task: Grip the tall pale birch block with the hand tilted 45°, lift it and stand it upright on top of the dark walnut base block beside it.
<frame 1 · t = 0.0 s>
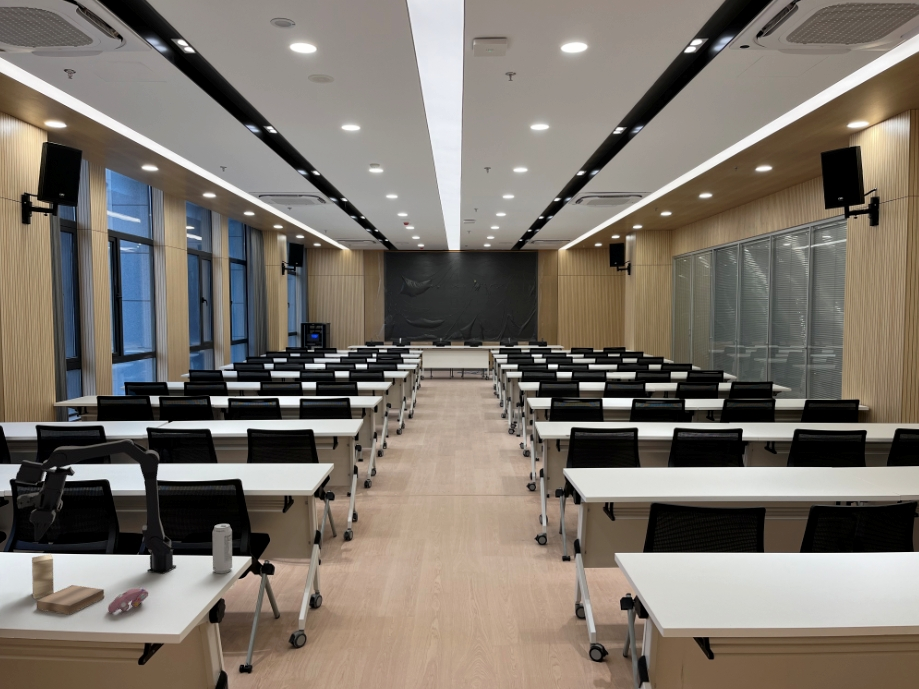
hand: (39, 536, 207), 15 cm above the table, tool pointing down, fingers open, 9 cm apart
energy drink can: (222, 571, 220), on the table
walnut base block: (71, 603, 194), on the table
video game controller: (128, 609, 191), on the table
birch block: (43, 594, 201), on the table
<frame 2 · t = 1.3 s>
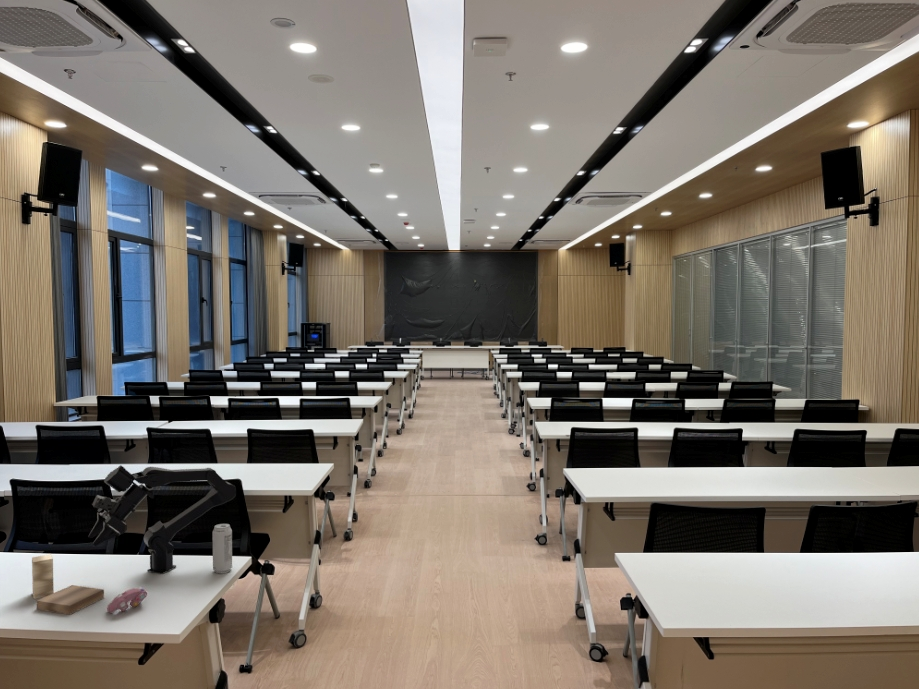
hand: (91, 541, 208), 13 cm above the table, tool tilted 45°, fingers open, 9 cm apart
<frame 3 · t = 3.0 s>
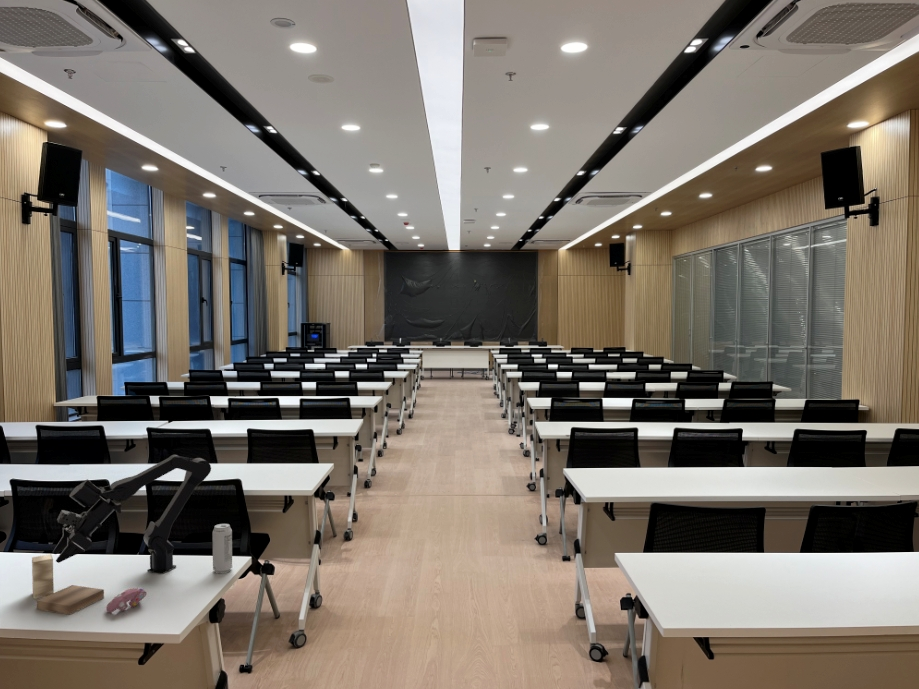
hand: (55, 557, 203), 10 cm above the table, tool tilted 45°, fingers open, 9 cm apart
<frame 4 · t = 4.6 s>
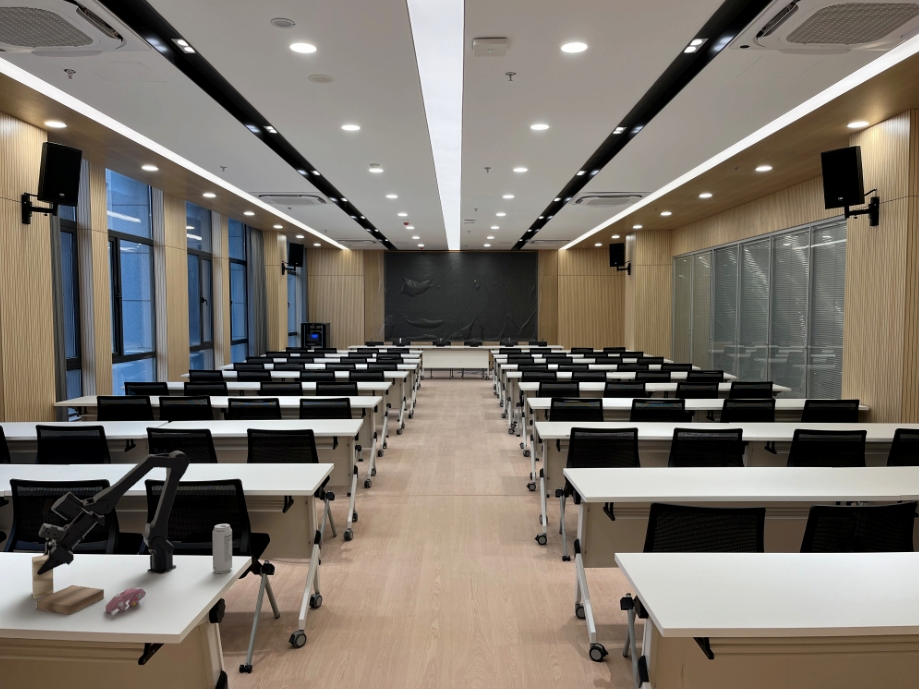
hand: (37, 571, 200), 7 cm above the table, tool tilted 45°, fingers closed on birch block, 5 cm apart
birch block: (43, 593, 201), on the table, touching gripper
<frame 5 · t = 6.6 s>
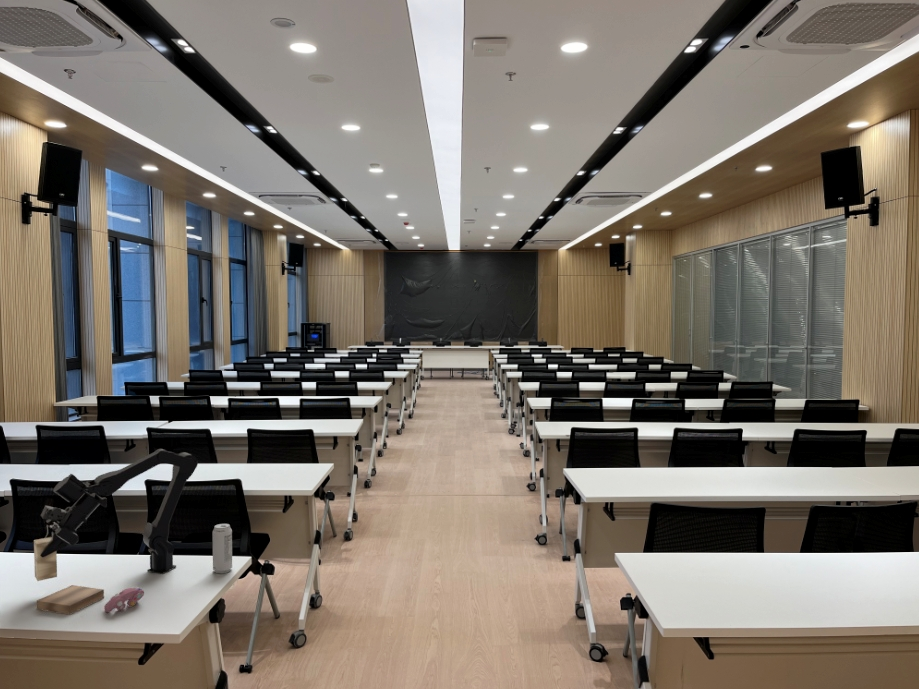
hand: (40, 554, 198), 13 cm above the table, tool tilted 45°, fingers closed on birch block, 5 cm apart
birch block: (45, 576, 199), point 6 cm above the table, touching gripper
when the fingers open (11 cm above the table, at t = 8.8 s): birch block drops 1 cm, resting on walnut base block.
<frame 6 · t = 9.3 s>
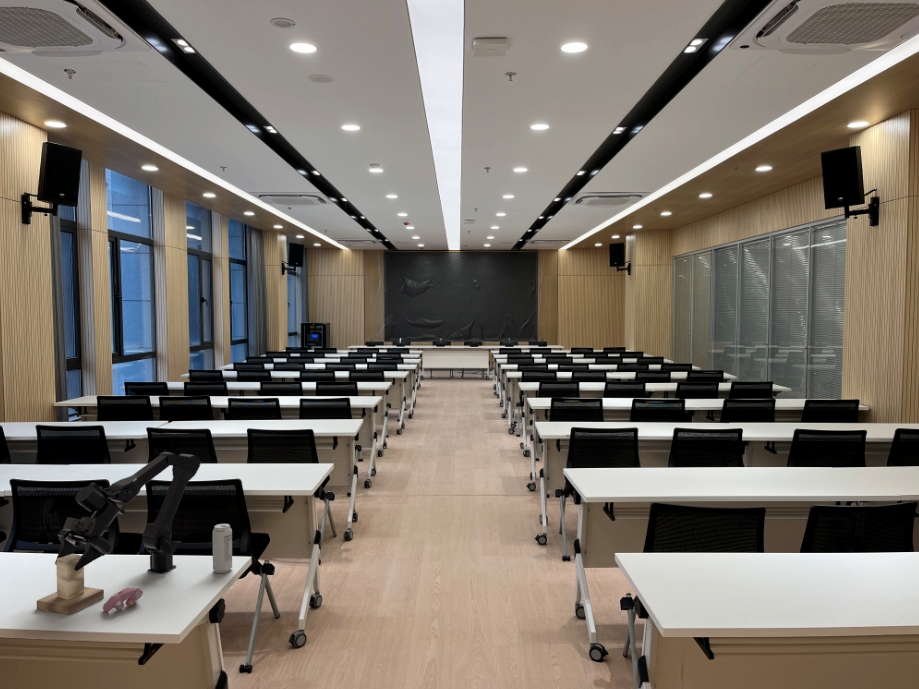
hand: (65, 567, 193), 11 cm above the table, tool tilted 45°, fingers open, 9 cm apart
birch block: (70, 594, 194), point 2 cm above the table, touching walnut base block
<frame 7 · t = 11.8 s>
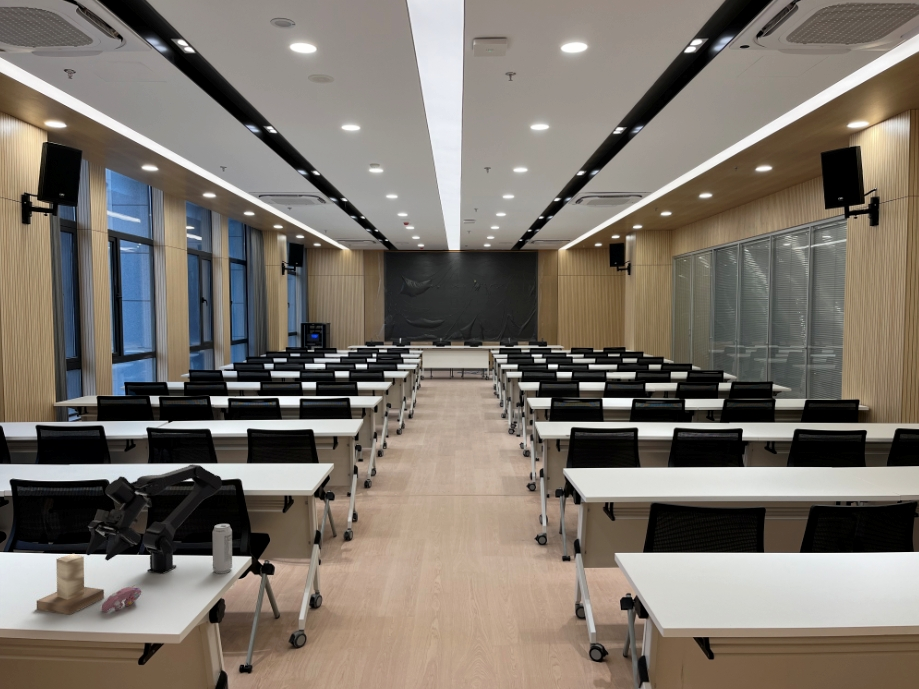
hand: (96, 557, 201), 11 cm above the table, tool tilted 45°, fingers open, 9 cm apart
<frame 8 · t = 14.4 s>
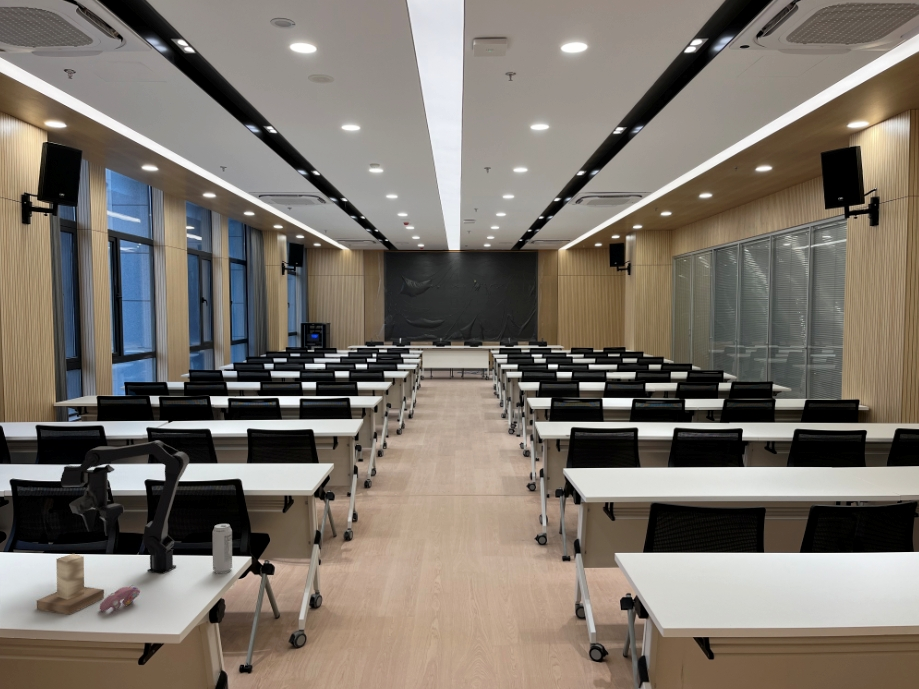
hand: (98, 533, 218), 13 cm above the table, tool pointing down, fingers open, 9 cm apart
at the end: birch block inside the target area on the walnut base block (0.0 cm from its centre), point 2.5 cm above the walnut base block's base; birch block tilted 0°; the gripper is holding nothing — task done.
